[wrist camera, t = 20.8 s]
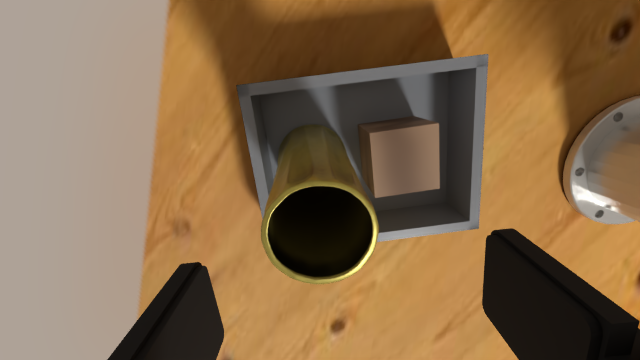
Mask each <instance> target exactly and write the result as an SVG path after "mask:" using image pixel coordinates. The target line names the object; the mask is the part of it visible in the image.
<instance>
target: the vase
mask: <svg viewBox="0 0 640 360" xmlns="http://www.w3.org/2000/svg"><path fill="white" fill-rule="evenodd" d="M378 233H379V225H378V220H377V216H376V213H375V210H374V207H373V205H372V203H371V201H370V199H369V198H368V196H367V194H366V192H365V191H364V189H363V187H362V185H361V183H360V181H359V179H358V177H357V175H356V172H355V170H354V168H353V166H352V164H351V162H350V160H349V158H348V155H347V153H346V149H345V146H344V144H343V142H342V140H341V139H340V137H339V136H338V135H337V134H336V133H335V132H334V131H332V130H331V129H329V128H327V127H325V126H322V125H303V126H300V127H298V128H296V129H294V130H292V131H291V132H290V133H289V134H288V135H287V136H286V137H285V138H284V140H283V141H282V143H281V145H280V147H279V153H278V166H277V171H276V175H275V178H274V182H273V186H272V189H271V192H270V195H269V197H268V200H267V203H266V207H265V212H264V217H263V220H262V226H261V240H262V244H263V246H264V249H265V251H266V254H267V256H268V258H269V259H270V261H271V262H272V264H273V265H274V266H275V267H276V268H277V269H279V270H280V271H281V272H283V273H284V274H286V275H287V276H289V277H291V278H292V279H295V280H298V281H301V282H304V283H311V284H328V283H333V282H337V281H341V280H343V279H346V278H348V277H350V276H352V275H353V274H355V273H356V272H358V271H359V270H360V269H361V268H362V267H363V266H364V265H365V264H366V262H367V261H368V260H369V258H370V257H371V255H372V253H373V251H374V249H375V246H376V243H377V239H378Z"/></svg>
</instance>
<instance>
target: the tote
mask: <svg viewBox="0 0 640 360" xmlns="http://www.w3.org/2000/svg"><path fill="white" fill-rule="evenodd" d="M487 70H488V54H484V55H476V56H468V57H460V58H452V59H444V60H436V61H428V62H420V63H412V64H404V65H396V66H387V67H379V68H371V69H363V70H355V71H347V72H339V73H331V74H323V75H315V76H307V77H299V78H291V79H283V80H275V81H267V82H259V83H251V84H242V85H236V86H237V91H238V96H239V101H240V106H241V111H242V117H243V122H244V127H245V132H246V137H247V142H248V147H249V152H250V157H251V162H252V167H253V172H254V177H255V183H256V188H257V193H258V198H259V203H260V208H261V213H262V218H263V217H264V212H265V207H266V203H267V200H268V197H269V195H270V192H271V189H272V186H273V182H274V178H275V175H276V171H277V166H278V153H279V147H280V145H281V143H282V141H283V140H284V138H285V137H286V136H287V135H288V134H289V133H290V132H291V131H292V130H294V129H296V128H298V127H300V126H303V125H322V126H325V127H327V128H329V129H331V130H332V131H334V132H335V133H336V134H337V135H338V136H339V137H340V139H341V140H342V142H343V144H344V146H345V149H346V153H347V155H348V158H349V160H350V162H351V164H352V166H353V168H354V170H355V172H356V175H357V177H358V179H359V181H360V183H361V185H362V187H363V189H364V191H365V192H366V194H367V196H368V198H369V199H370V201H371V203H372V205H373V207H374V210H375V213H376V216H377V220H378V225H379V233H378V239H377V242H380V241H388V240H395V239H403V238H410V237H418V236H426V235H433V234H441V233H448V232H456V231H464V230H471V229H479V214H480V196H481V178H482V160H483V142H484V124H485V106H486V88H487ZM411 116H416V117H419V118H423V119H426V120H430V121H433V122H437V123H439V170H440V189H433V190H426V191H420V192H413V193H406V194H399V195H392V196H386V197H379V198H375V197H374V196H373V194H372V192H371V191H370V189H369V188H368V186H367V184H366V183H365V181H364V180H363V176H362V166H361V155H360V145H359V134H358V124H362V123H369V122H376V121H383V120H390V119H397V118H404V117H411Z"/></svg>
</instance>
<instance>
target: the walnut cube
mask: <svg viewBox="0 0 640 360" xmlns="http://www.w3.org/2000/svg"><path fill="white" fill-rule="evenodd" d="M358 134H359V145H360V155H361V166H362V176H363V180H364V181H365V183H366V184H367V186H368V188H369V189H370V191H371V192H372V194H373V196H374V197H375V198H379V197H386V196H392V195H399V194H406V193H413V192H420V191H426V190H433V189H440V170H439V123H437V122H433V121H430V120H426V119H423V118H419V117H416V116H411V117H404V118H397V119H390V120H383V121H376V122H369V123H362V124H358Z"/></svg>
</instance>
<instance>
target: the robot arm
mask: <svg viewBox="0 0 640 360" xmlns="http://www.w3.org/2000/svg"><path fill="white" fill-rule="evenodd" d="M563 186H564V191H565V195H566V197H567V199H568V201H569V203H570V204H571V205H572V206H573V208H574V209H575V210H576V211H577V212H579V213H580V214H582V215H583V216H585V217H587V218H589V219H591V220H594V221H596V222H600V223H604V224H623V223H629V222H633V221H638V222H640V96H634V97H631V98H628V99H625V100H622V101H620V102H618V103H616V104H614V105H612V106H610V107H608V108H607V109H605V110H604V111H602V112H601V113H600V114H598V115H597V116H596V117H595V118H594V119H592V120H591V121H590V122H589V123H588V124H587V125H586V126H585V128H584V129H583V130H582V131H581V133H580V134H579V135H578V136H577V138H576V140H575V141H574V143H573V145H572V147H571V148H570V151H569V153H568V156H567V158H566V161H565V166H564V171H563ZM482 305H483V309H484V312H485V314H486V315H487V317H488V318H489V319H490V321H491V322H492V323H493V325H494V326H495V328H496V329H497V330H498V332H499V333H500V334H501V336H502V337H503V339H504V340H505V341H506V343H507V344H508V345H509V347H510V348H511V350H512V351H513V352H514V354H515V355H516V356H517V358H518V359H519V360H640V329H639V328H638V325H639V321H638V320H637V319H636V318H634V317H633V316H632V315H630V314H629V313H628V312H626V311H625V310H623V309H622V308H621V307H619V306H618V305H617V304H615V303H614V302H613V301H611V300H610V299H609V298H607V297H606V296H604V295H603V294H602V293H600V292H599V291H598V290H596V289H595V288H594V287H592V286H591V285H590V284H588V283H587V282H585V281H584V280H583V279H581V278H580V277H579V276H577V275H576V274H575V273H573V272H572V271H571V270H569V269H568V268H566V267H565V266H564V265H562V264H561V263H560V262H558V261H557V260H556V259H554V258H553V257H552V256H550V255H549V254H547V253H546V252H545V251H543V250H542V249H541V248H539V247H538V246H537V245H535V244H534V243H532V242H531V241H530V240H528V239H527V238H526V237H524V236H523V235H522V234H520V233H519V232H518V231H516V230H515V229H501V230H494V231H492V233H491V235H488V236H487V238H486V250H485V266H484V283H483V299H482ZM223 339H224V328H223V324H222V321H221V317H220V313H219V310H218V306H217V302H216V299H215V295H214V291H213V288H212V284H211V281H210V277H209V273H208V270H207V267H206V266H202V265H201V263H199V262H195V263H185V264H181V265H180V266H179V267H178V268H177V269H176V271H175V272H174V273H173V275H172V276H171V277H170V279H169V280H168V281H167V282H166V284H165V285H164V286H163V288H162V289H161V290H160V292H159V293H158V294H157V296H156V297H155V298H154V299H153V301H152V302H151V303H150V305H149V306H148V307H147V309H146V310H145V311H144V313H143V314H142V315H141V316H140V318H139V319H138V320H137V322H136V323H135V324H134V326H133V327H132V328H131V330H130V331H129V332H128V334H127V335H126V336H125V337H124V339H123V340H122V341H121V343H120V344H119V345H118V347H117V348H116V349H115V350H114V352H113V353H112V354H111V356H110V357H109V358H108V360H216V358H217V356H218V353H219V350H220V348H221V345H222V342H223Z"/></svg>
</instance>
